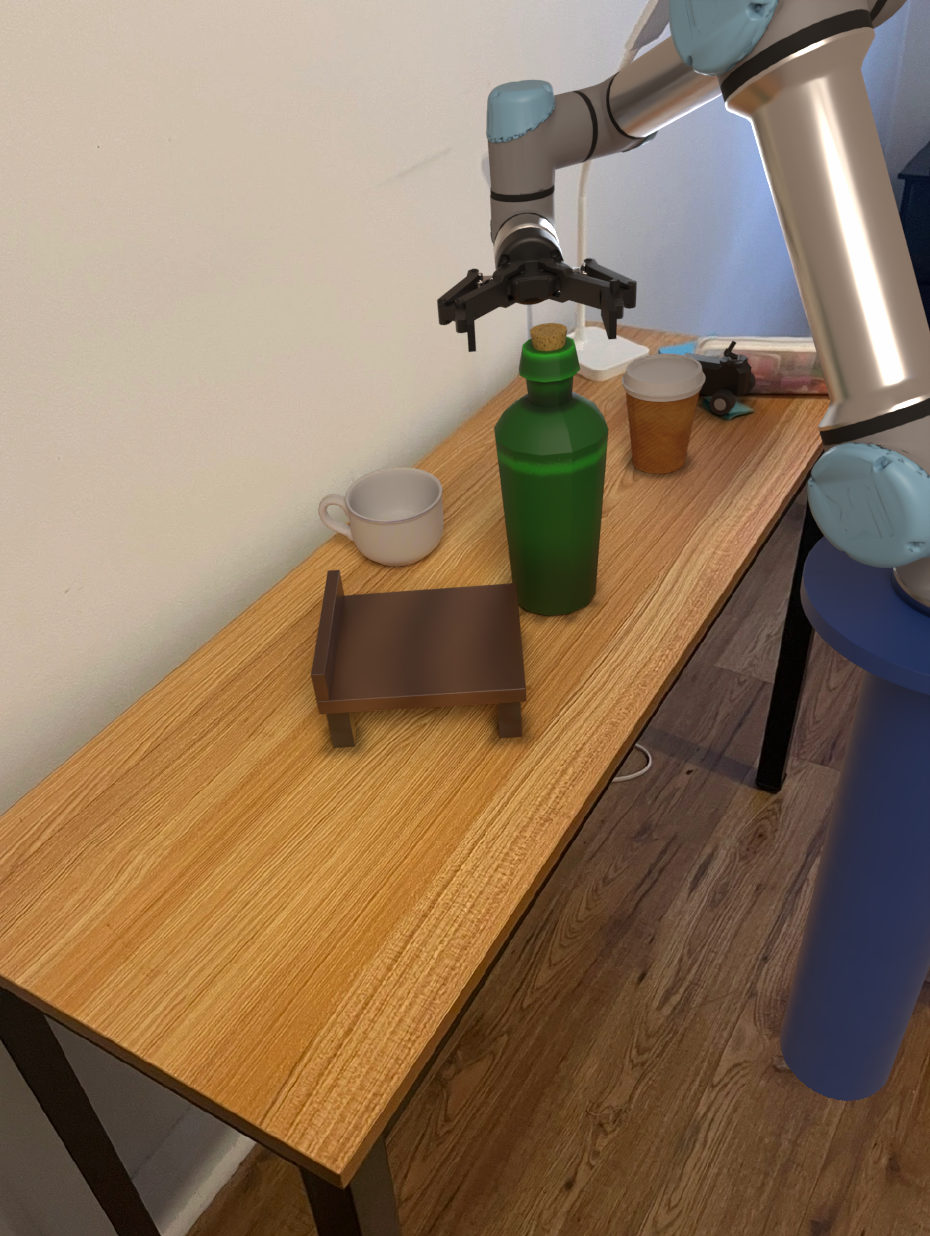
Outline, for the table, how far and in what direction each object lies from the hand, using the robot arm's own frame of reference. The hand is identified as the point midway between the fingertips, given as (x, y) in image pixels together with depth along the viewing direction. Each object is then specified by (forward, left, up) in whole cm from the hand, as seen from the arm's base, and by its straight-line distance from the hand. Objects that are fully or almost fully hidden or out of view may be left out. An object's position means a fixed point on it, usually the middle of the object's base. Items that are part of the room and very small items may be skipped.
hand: (541, 332), depth 99 cm
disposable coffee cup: (-15, -17, -24) cm, 33 cm away
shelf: (+13, +24, -24) cm, 36 cm away
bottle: (0, +10, -24) cm, 26 cm away
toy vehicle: (-22, -34, -24) cm, 47 cm away
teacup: (+18, -1, -24) cm, 30 cm away
